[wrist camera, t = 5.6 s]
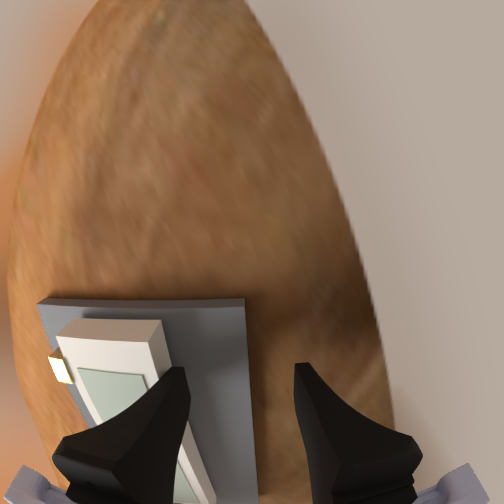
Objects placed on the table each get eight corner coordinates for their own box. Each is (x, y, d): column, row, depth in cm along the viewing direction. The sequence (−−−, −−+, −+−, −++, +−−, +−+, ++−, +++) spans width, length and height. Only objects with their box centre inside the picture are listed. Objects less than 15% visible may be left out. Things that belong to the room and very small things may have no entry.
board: (258, 496, 18) (259, 525, 15) (136, 485, 18) (129, 511, 15) (244, 297, 13) (243, 335, 10) (45, 297, 13) (11, 322, 10)
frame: (216, 496, 17) (215, 516, 14) (160, 491, 17) (156, 509, 14) (160, 319, 12) (146, 344, 10) (75, 317, 12) (53, 338, 10)
